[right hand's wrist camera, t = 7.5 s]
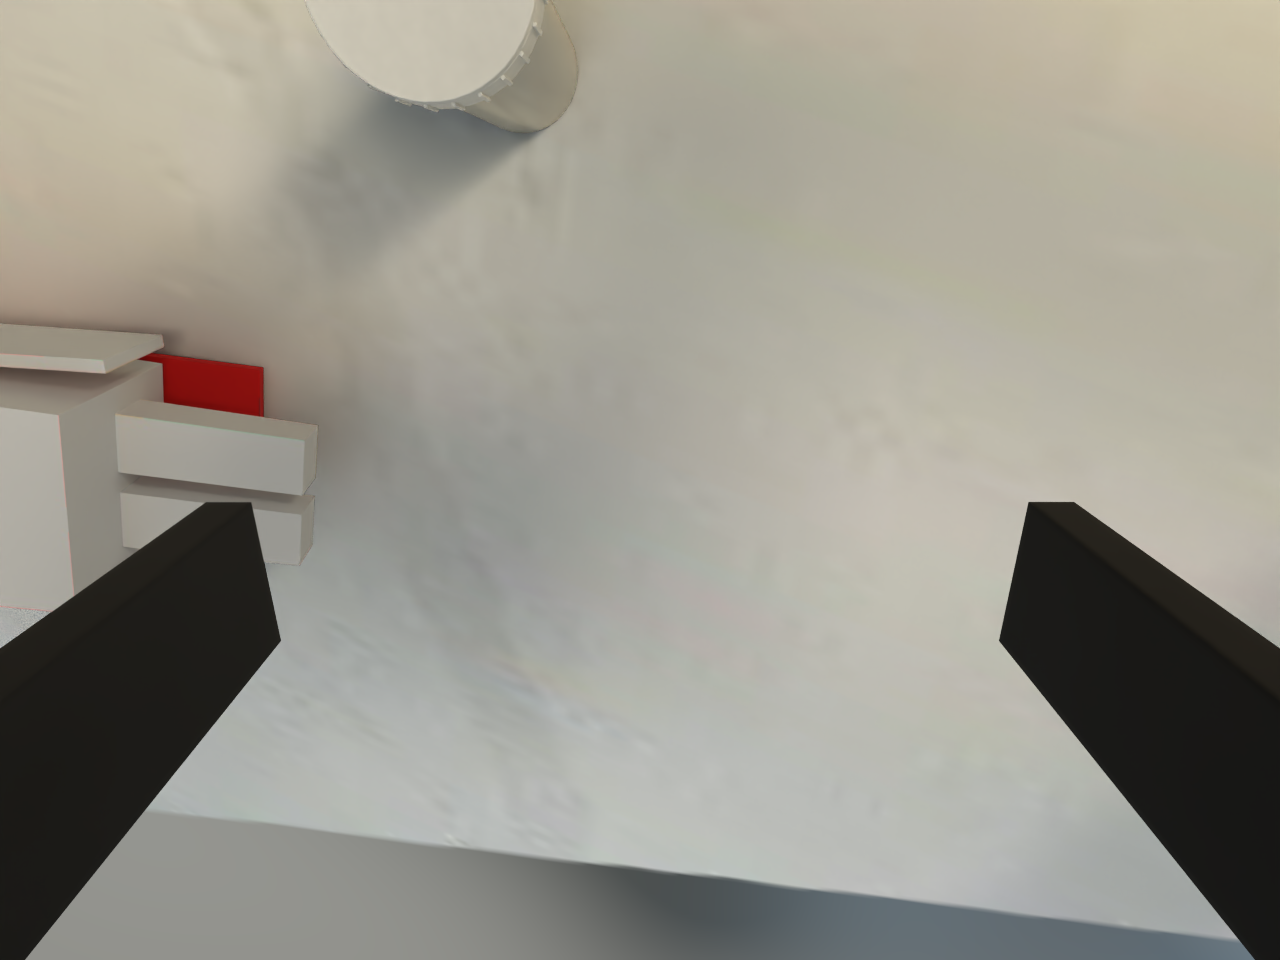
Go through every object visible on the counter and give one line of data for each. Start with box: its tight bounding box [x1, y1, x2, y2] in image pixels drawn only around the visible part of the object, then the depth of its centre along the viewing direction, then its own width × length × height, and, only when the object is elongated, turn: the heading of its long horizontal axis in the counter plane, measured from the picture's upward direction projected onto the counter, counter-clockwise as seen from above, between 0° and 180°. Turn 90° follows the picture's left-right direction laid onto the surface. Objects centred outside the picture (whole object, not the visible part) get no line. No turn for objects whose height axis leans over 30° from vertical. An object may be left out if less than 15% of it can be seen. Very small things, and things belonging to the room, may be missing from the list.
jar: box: [464, 0, 578, 133], centre depth 24 cm, size 5×5×15 cm
